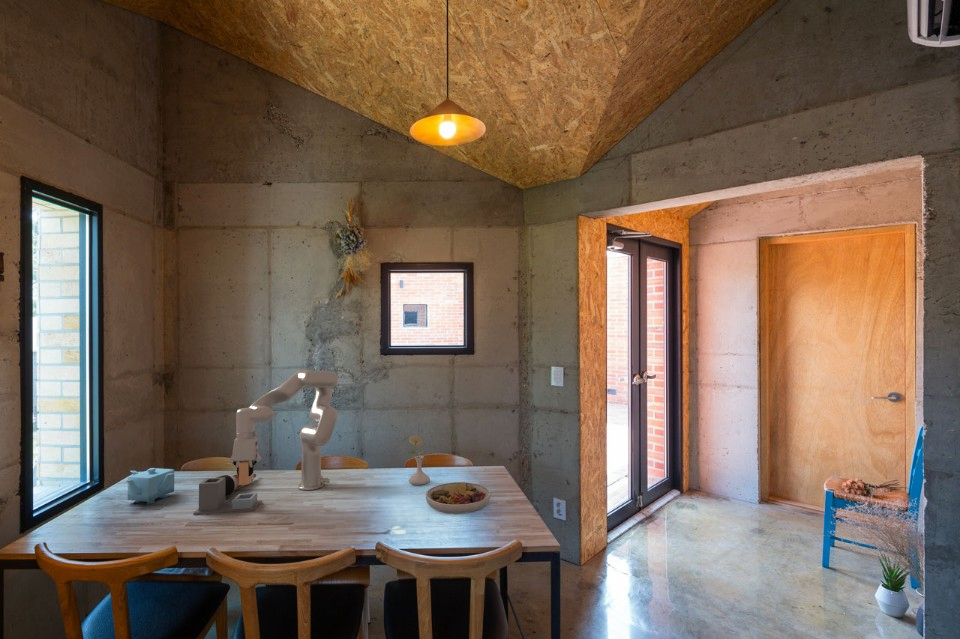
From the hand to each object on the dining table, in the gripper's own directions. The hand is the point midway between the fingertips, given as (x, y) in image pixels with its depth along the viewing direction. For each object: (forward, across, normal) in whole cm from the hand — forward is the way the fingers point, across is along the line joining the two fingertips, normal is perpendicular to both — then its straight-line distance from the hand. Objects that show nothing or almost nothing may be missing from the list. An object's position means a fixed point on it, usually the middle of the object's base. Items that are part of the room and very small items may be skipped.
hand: (245, 475), depth 210 cm
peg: (+4, 0, 0) cm, 4 cm away
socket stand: (+15, +7, 0) cm, 16 cm away
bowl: (+15, -97, +10) cm, 99 cm away
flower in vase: (+15, -79, -21) cm, 83 cm away
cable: (+15, +13, -24) cm, 32 cm away
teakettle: (+15, +49, -18) cm, 54 cm away
